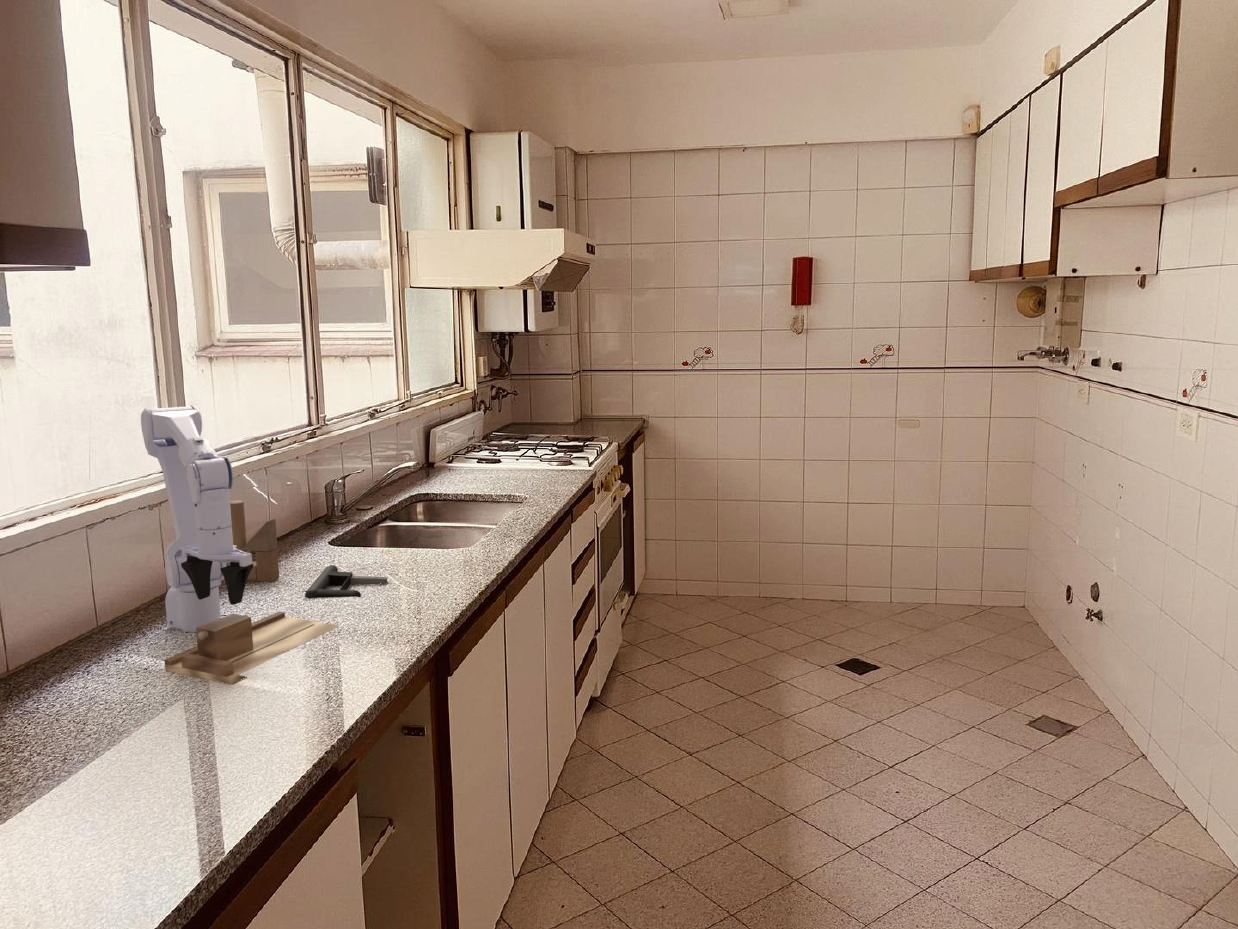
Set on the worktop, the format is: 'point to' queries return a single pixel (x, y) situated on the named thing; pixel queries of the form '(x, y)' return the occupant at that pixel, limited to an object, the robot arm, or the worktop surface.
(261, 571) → the wooden block
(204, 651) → the block with white pegs
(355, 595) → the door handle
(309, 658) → the worktop surface
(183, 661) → the board
